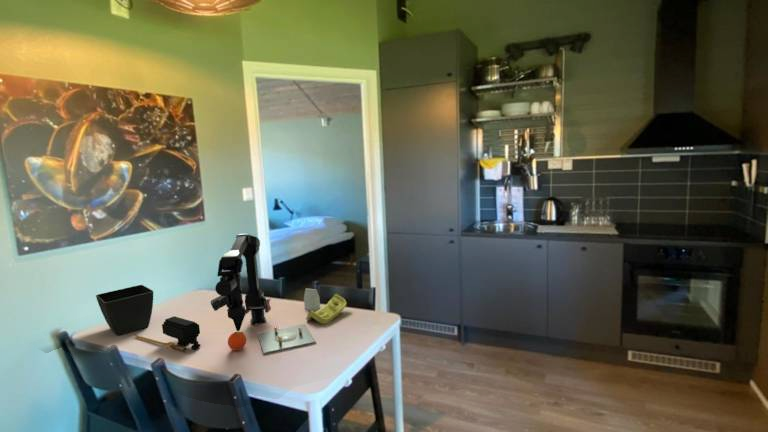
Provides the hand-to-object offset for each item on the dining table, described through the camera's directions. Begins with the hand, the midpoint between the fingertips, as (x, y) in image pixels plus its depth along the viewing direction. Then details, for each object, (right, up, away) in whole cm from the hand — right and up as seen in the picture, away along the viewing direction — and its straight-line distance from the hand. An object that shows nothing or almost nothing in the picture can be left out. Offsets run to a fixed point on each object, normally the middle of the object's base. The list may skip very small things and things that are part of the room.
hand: (237, 326), depth 160 cm
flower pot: (-59, -9, +28) cm, 67 cm away
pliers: (-4, -4, +49) cm, 50 cm away
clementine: (0, -9, +1) cm, 10 cm away
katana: (-35, -10, +9) cm, 38 cm away
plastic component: (+31, -4, +31) cm, 44 cm away
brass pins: (+18, -6, +8) cm, 21 cm away
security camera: (-24, -10, +8) cm, 27 cm away
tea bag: (+22, -3, +42) cm, 47 cm away
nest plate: (+17, -7, +8) cm, 20 cm away
